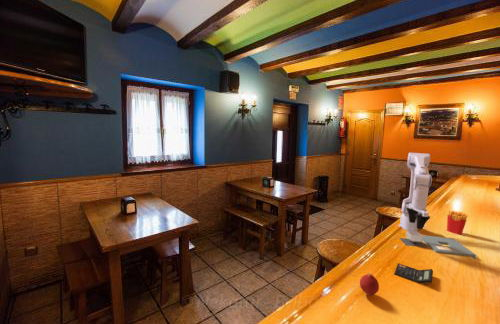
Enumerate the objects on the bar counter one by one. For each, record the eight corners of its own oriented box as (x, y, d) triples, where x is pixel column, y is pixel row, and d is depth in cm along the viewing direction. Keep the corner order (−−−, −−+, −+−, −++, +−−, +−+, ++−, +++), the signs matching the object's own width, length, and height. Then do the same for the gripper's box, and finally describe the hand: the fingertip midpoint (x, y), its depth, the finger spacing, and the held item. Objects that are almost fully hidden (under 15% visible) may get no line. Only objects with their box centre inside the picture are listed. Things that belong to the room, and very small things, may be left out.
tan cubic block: (405, 239, 122) (406, 230, 121) (416, 240, 121) (417, 231, 120) (409, 244, 117) (411, 234, 116) (421, 245, 116) (422, 235, 116)
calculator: (397, 264, 102) (398, 258, 101) (432, 276, 94) (433, 269, 94) (394, 275, 94) (395, 268, 94) (430, 288, 87) (432, 281, 87)
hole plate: (418, 238, 126) (418, 234, 126) (452, 242, 123) (453, 238, 123) (435, 254, 111) (436, 249, 110) (475, 258, 108) (476, 254, 107)
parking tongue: (398, 239, 124) (398, 237, 124) (419, 241, 122) (420, 239, 122) (405, 247, 116) (405, 245, 116) (428, 249, 115) (428, 247, 115)
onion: (371, 288, 85) (374, 268, 84) (381, 300, 80) (384, 278, 78) (355, 288, 85) (358, 268, 84) (364, 300, 80) (366, 278, 78)
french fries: (444, 230, 138) (447, 210, 136) (446, 228, 140) (450, 209, 138) (463, 236, 131) (467, 215, 129) (465, 234, 133) (469, 213, 131)
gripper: (403, 194, 124) (400, 219, 126) (418, 202, 109) (413, 230, 112) (419, 195, 122) (415, 220, 124) (435, 204, 108) (430, 232, 110)
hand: (415, 225), depth 118 cm, fingers open, 7 cm apart
